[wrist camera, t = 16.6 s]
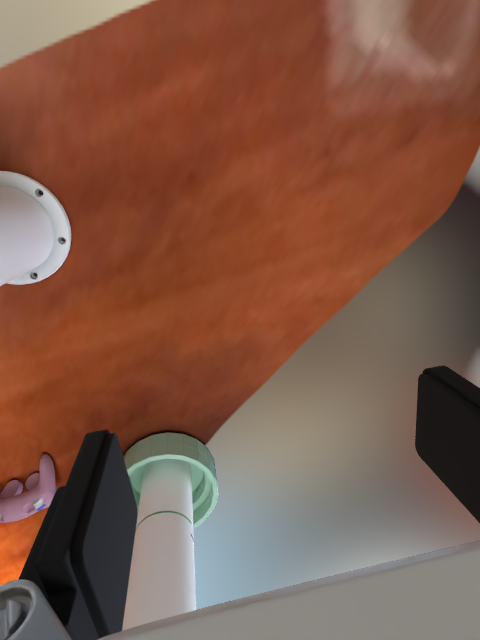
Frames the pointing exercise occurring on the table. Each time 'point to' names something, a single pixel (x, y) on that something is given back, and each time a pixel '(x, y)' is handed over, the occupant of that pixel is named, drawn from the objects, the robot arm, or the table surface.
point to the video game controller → (28, 493)
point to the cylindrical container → (162, 546)
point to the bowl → (182, 450)
